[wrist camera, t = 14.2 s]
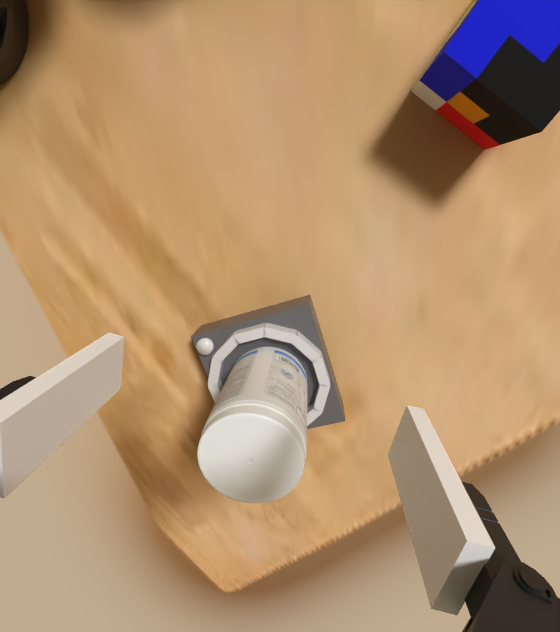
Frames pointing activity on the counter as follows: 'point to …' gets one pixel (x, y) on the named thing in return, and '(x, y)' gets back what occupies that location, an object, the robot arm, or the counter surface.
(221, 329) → the grey square ring block
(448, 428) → the counter surface
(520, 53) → the puzzle toy
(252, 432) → the supplement tub
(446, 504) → the robot arm
